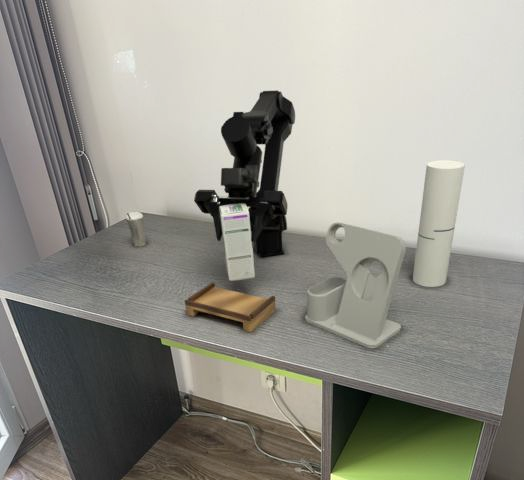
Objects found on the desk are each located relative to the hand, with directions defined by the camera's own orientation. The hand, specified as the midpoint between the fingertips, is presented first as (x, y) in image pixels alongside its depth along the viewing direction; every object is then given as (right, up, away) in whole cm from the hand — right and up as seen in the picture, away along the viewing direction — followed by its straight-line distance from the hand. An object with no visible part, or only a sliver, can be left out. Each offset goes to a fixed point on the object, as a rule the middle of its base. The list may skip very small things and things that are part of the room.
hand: (235, 240), depth 101 cm
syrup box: (+1, -6, +6) cm, 8 cm away
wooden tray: (-1, -15, +2) cm, 15 cm away
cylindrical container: (+43, -7, +10) cm, 45 cm away
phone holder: (+23, -17, -4) cm, 29 cm away
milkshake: (-29, +7, +39) cm, 49 cm away
